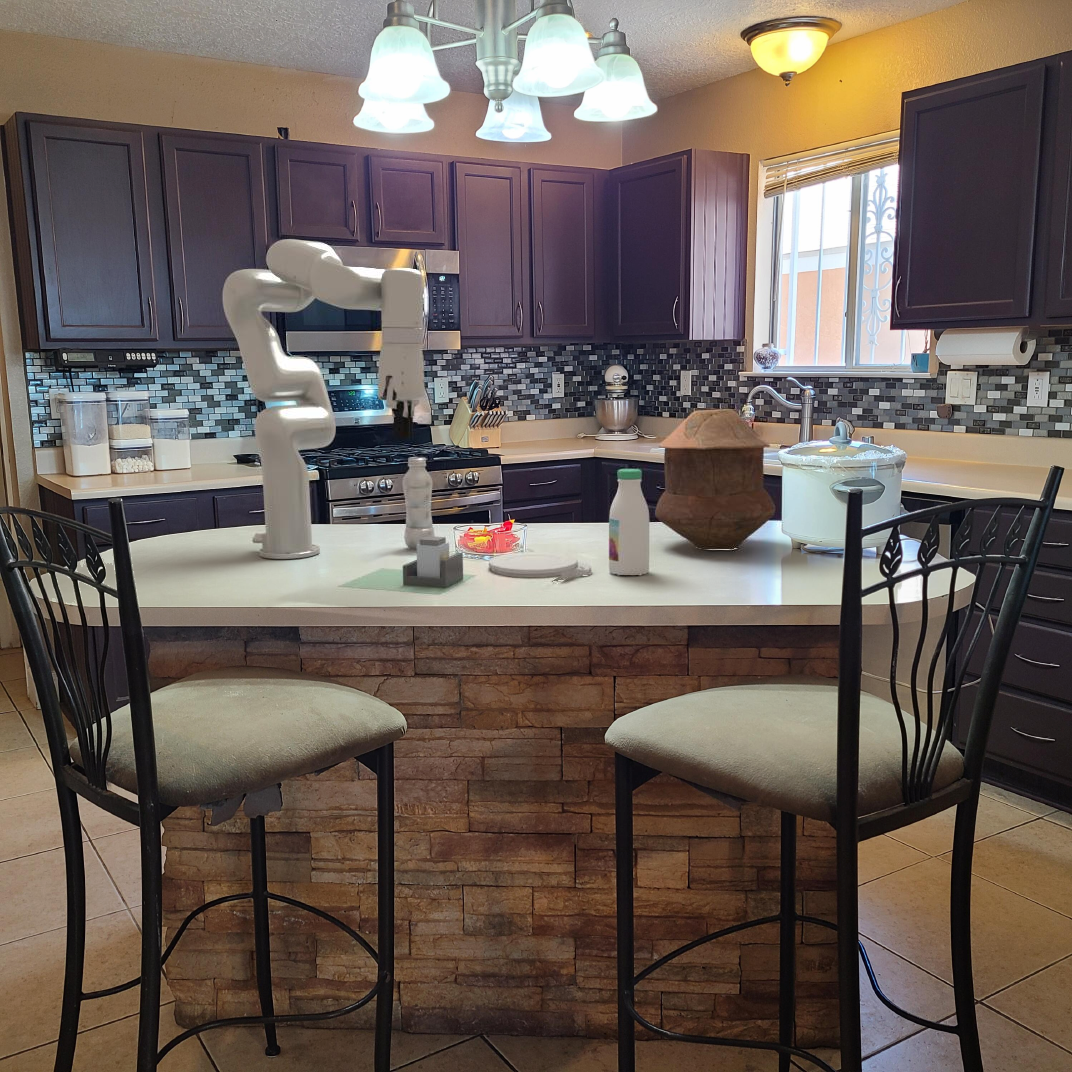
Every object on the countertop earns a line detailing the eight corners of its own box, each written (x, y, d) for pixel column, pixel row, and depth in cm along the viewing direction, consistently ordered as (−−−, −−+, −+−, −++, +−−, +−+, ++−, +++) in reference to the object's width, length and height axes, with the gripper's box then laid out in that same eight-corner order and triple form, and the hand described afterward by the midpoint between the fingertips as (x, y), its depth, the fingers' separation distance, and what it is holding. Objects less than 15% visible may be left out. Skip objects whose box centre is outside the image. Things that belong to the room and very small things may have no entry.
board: (338, 592, 177) (338, 586, 177) (382, 574, 192) (381, 568, 192) (439, 601, 170) (439, 594, 170) (476, 581, 185) (476, 575, 185)
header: (403, 585, 177) (402, 557, 176) (422, 576, 184) (421, 550, 183) (445, 588, 174) (445, 560, 173) (463, 579, 181) (462, 552, 180)
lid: (601, 582, 185) (601, 566, 184) (495, 587, 181) (494, 571, 181) (581, 564, 201) (581, 549, 201) (483, 568, 198) (483, 553, 197)
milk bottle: (652, 569, 194) (654, 468, 190) (643, 578, 186) (645, 472, 183) (614, 567, 196) (614, 466, 193) (604, 575, 189) (604, 471, 185)
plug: (417, 583, 178) (416, 539, 177) (427, 578, 182) (426, 535, 180) (442, 585, 176) (441, 541, 175) (452, 580, 180) (451, 537, 179)
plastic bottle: (430, 552, 214) (427, 459, 210) (400, 551, 215) (397, 459, 212) (439, 546, 220) (436, 456, 217) (409, 545, 221) (407, 456, 218)
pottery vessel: (778, 561, 200) (783, 412, 195) (651, 558, 205) (652, 412, 200) (770, 538, 226) (774, 405, 220) (657, 536, 230) (659, 406, 225)
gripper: (404, 338, 190) (404, 434, 193) (363, 337, 176) (365, 440, 180) (439, 338, 187) (439, 435, 191) (400, 338, 173) (401, 443, 177)
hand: (403, 438), depth 185 cm, fingers closed
